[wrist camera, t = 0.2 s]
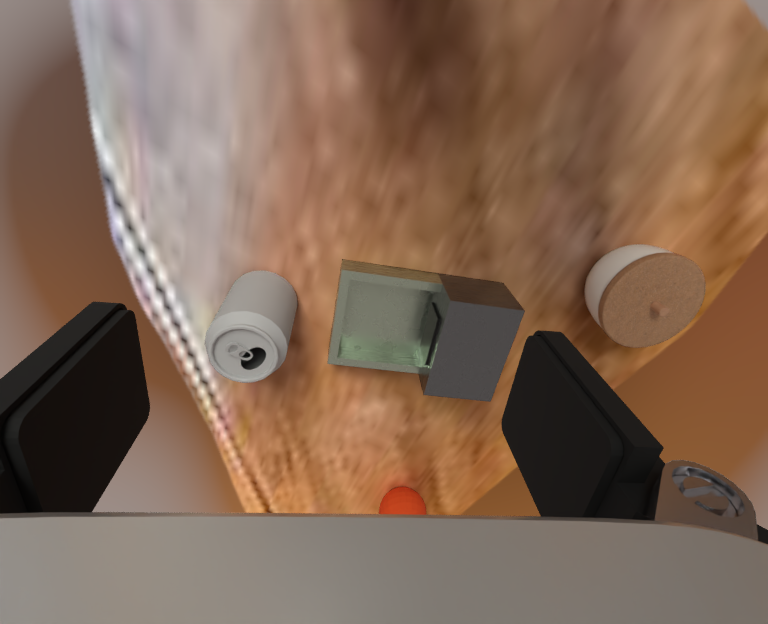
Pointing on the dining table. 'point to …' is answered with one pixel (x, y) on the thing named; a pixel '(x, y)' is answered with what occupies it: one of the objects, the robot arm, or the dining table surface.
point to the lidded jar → (643, 294)
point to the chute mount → (424, 327)
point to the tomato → (402, 502)
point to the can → (252, 327)
